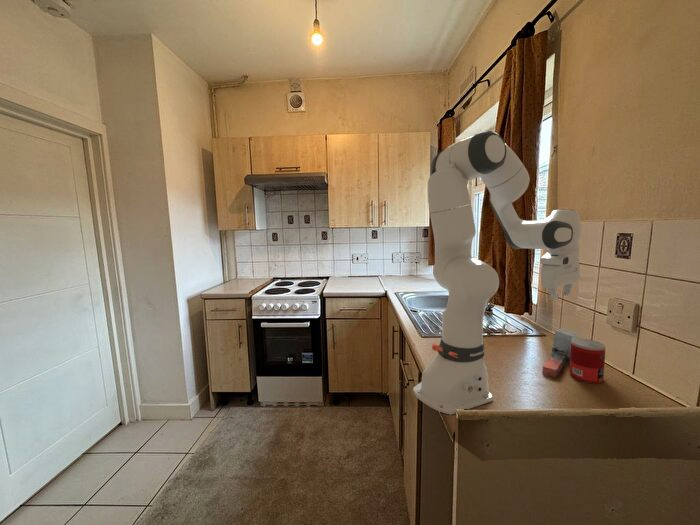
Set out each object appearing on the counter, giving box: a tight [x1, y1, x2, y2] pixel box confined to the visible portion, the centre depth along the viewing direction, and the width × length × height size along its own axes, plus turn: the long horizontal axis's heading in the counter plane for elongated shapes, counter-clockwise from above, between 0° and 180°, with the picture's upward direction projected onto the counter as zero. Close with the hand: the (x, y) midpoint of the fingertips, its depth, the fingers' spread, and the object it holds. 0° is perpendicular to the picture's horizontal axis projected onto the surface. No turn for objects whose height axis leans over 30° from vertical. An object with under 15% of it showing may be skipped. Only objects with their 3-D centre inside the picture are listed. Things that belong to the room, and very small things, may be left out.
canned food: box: [569, 337, 606, 385], centre depth 86 cm, size 8×8×11 cm
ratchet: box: [542, 346, 570, 379], centre depth 95 cm, size 22×7×6 cm, turn 132°
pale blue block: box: [552, 327, 579, 354], centre depth 99 cm, size 5×5×6 cm
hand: (560, 297), depth 98 cm, fingers open, 8 cm apart
